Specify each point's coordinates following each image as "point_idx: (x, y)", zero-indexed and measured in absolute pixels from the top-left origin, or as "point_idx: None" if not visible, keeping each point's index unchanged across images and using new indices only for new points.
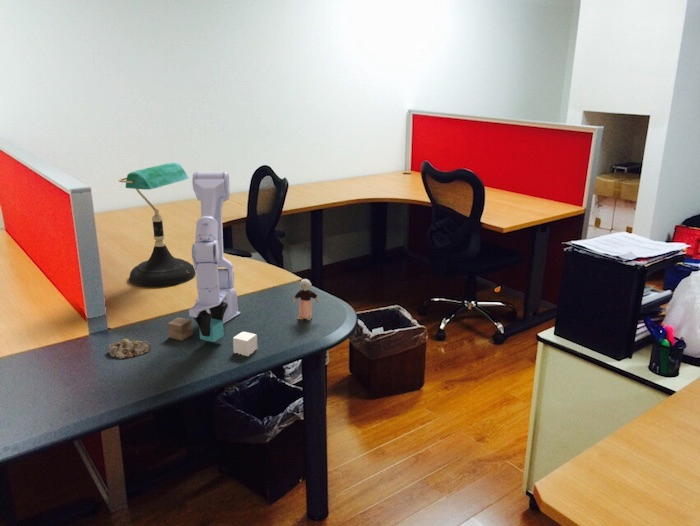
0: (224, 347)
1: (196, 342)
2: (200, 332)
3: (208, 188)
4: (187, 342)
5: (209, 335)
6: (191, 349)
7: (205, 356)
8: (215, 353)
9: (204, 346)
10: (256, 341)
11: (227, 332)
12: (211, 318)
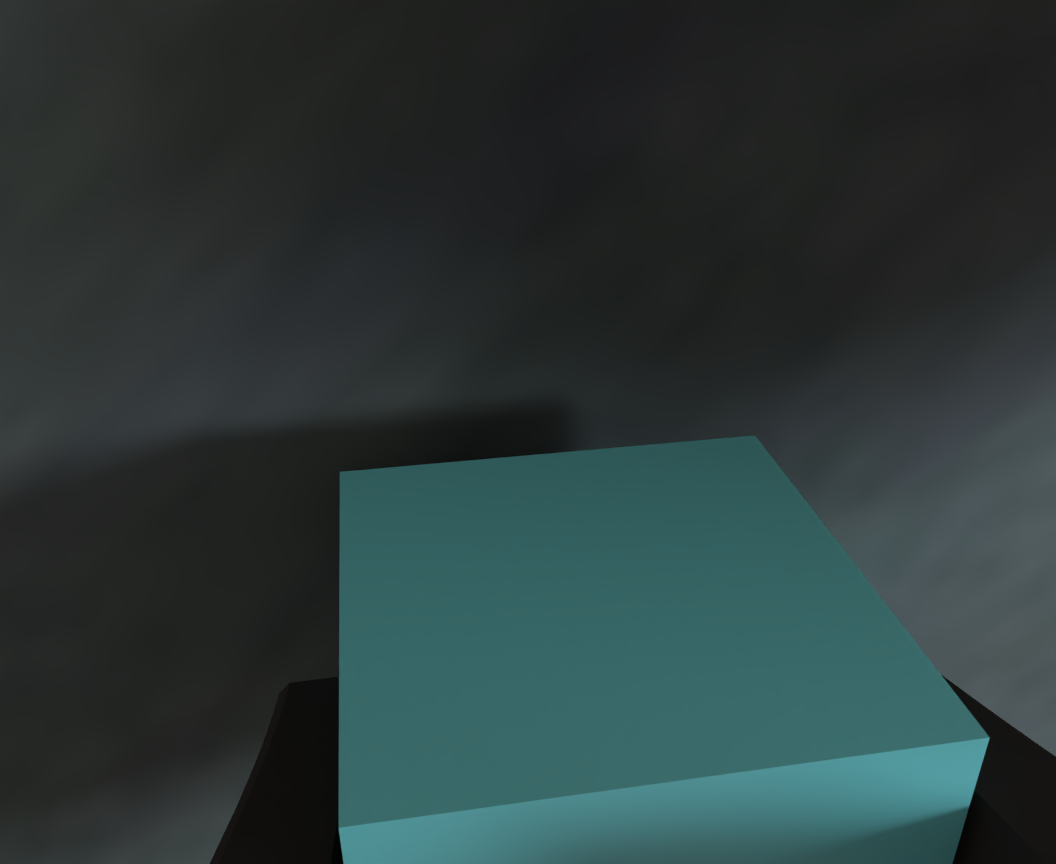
0: None
1: (390, 225)
2: (342, 617)
3: None
4: (264, 6)
5: None
6: (38, 381)
7: (13, 783)
8: (216, 823)
9: (325, 508)
10: None
11: (1049, 454)
12: (962, 808)
